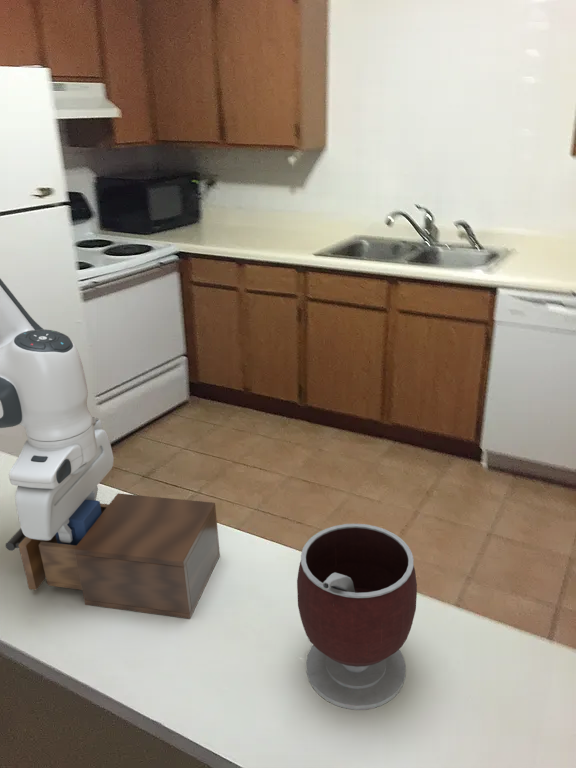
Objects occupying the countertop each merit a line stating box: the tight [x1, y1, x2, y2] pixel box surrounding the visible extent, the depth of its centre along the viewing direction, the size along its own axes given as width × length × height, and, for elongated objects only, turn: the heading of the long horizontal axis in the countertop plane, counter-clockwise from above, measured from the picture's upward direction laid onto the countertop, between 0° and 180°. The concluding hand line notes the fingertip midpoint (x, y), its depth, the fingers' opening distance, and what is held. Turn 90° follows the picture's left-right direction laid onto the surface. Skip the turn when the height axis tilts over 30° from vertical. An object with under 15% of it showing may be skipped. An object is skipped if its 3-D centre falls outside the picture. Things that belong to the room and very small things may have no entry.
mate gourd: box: [296, 523, 418, 711], centre depth 78 cm, size 16×14×20 cm
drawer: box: [4, 503, 110, 591], centre depth 100 cm, size 19×13×8 cm, turn 78°
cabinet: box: [74, 493, 221, 620], centre depth 98 cm, size 16×14×10 cm
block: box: [56, 500, 102, 546], centre depth 98 cm, size 5×5×5 cm
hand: (79, 526), depth 98 cm, fingers closed on block, 5 cm apart
